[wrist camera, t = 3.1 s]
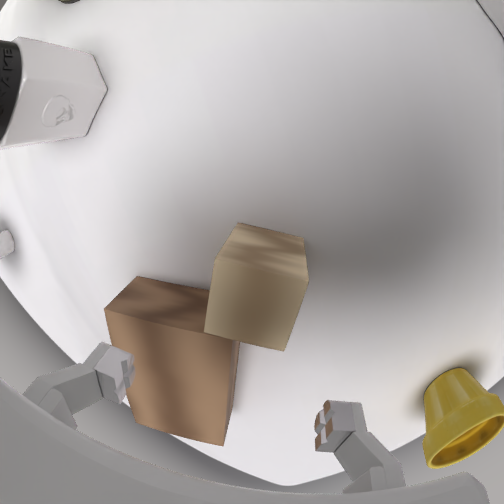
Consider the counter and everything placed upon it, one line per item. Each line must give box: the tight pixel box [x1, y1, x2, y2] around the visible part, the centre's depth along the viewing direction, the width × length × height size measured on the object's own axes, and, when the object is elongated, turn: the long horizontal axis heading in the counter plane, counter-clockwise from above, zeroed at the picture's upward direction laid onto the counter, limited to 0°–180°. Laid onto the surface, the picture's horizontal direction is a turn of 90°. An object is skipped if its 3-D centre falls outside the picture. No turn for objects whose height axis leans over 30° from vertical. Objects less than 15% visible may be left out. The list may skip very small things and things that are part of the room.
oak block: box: [204, 223, 309, 351], centre depth 18 cm, size 5×5×7 cm
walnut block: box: [104, 276, 240, 446], centre depth 24 cm, size 10×16×6 cm, turn 174°
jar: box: [0, 37, 107, 150], centre depth 13 cm, size 9×8×12 cm
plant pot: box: [423, 368, 504, 469], centre depth 20 cm, size 10×10×10 cm
